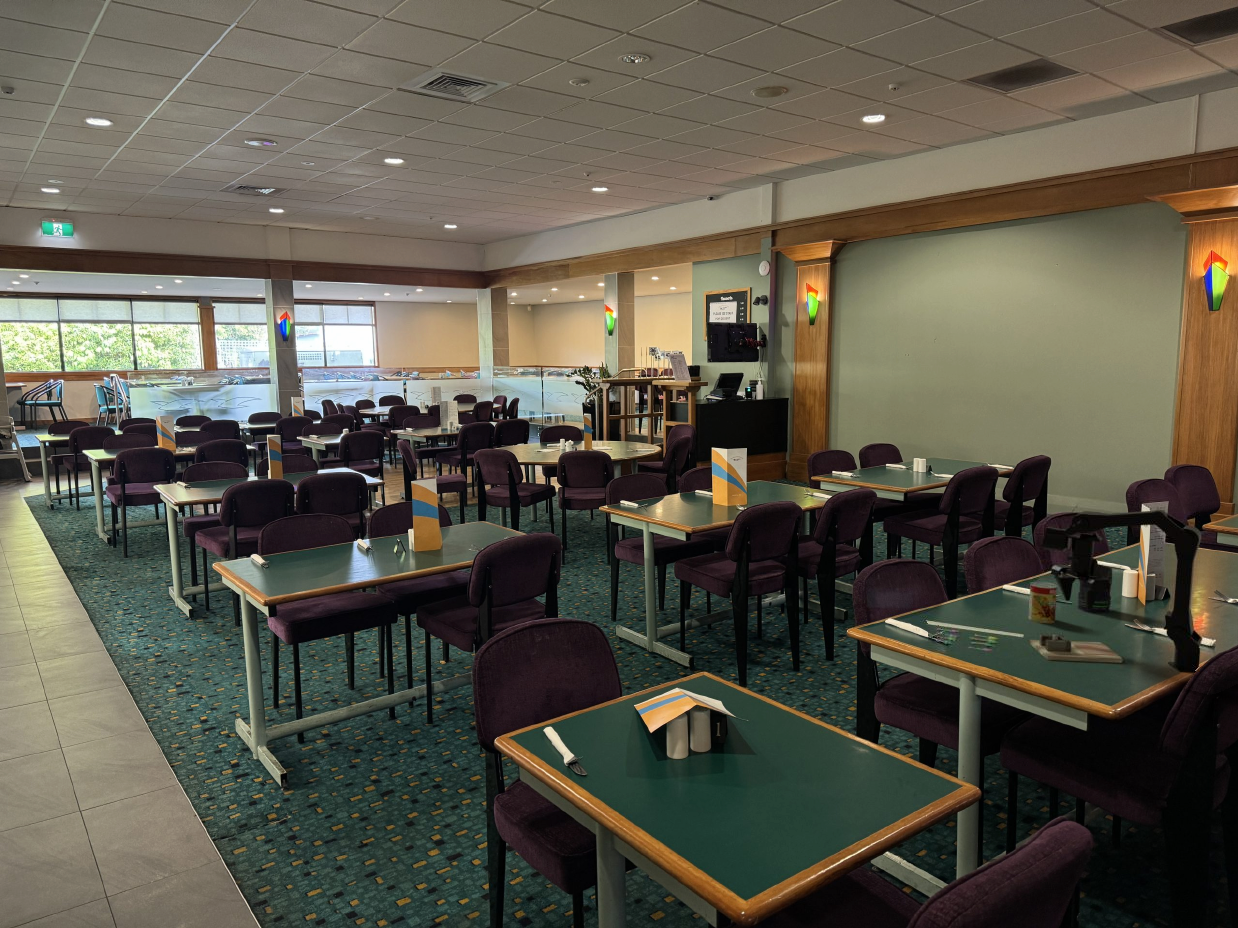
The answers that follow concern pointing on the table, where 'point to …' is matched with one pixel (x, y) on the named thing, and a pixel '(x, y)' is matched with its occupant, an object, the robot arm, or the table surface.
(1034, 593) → the canned food
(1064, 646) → the c link
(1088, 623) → the table surface
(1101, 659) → the board
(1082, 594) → the storage jar
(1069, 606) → the table surface
